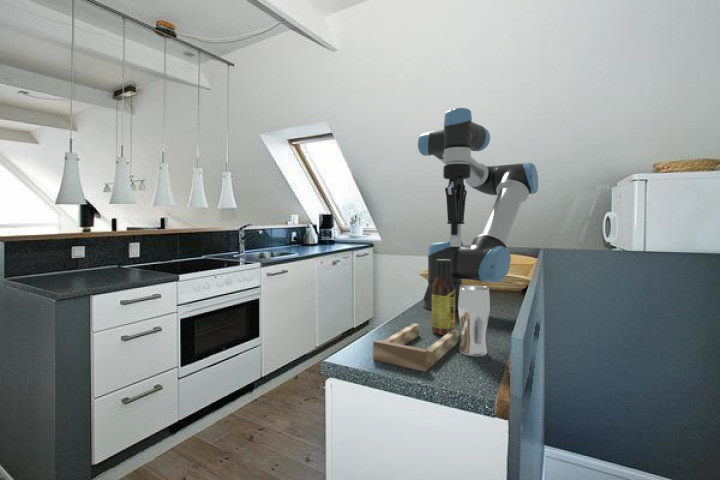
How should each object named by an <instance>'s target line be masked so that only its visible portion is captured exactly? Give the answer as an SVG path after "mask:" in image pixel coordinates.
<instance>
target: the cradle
mask: <svg viewBox="0 0 720 480" xmlns="http://www.w3.org/2000/svg"><path fill="white" fill-rule="evenodd" d="M419 335H420V324H419V323H412V324H411V325H409V326H406V327H404V328H403V329H401V330H400V331H397V332H396V333H394V334H391V335H390V336H388V337H387V338H385V339H383V340H380V339H375V340H374V341H373V342H372V344H373V345H372V346H373V347H372V350H373V351H372V352H373V353H372V356H373V357H372V359H373V361H376V362H377V361H378V362H383V363H386V364H390V365H396V366H399V367H404V368H408V369H412V370H417V371H419V372H420V371H421V372H426V371H428V370H429V369H430V368H431V367H432V366H433V365H434V364H436V363H437V362H438V361H439V360H440V359H441V358H443V356H445V355H446V354H447V353H448V352H449V351H451V349H452V348H454V347H455V346H456V345H457V344H458V343H459V330H457V329H454V330H451V331H450V332H449V333H447V334H446V335H442V337H441V338H439V339H438V340H437V341H435V342H434V343H433V344H431V345H430V346H429V347H427V348H426V349H425V348H421V347H416V346H412V345H406V344H408V343H410V342H412V341H413V340H414V339H416V338H417V337H419Z"/></svg>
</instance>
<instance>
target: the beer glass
mask: <svg viewBox="0 0 720 480" xmlns="http://www.w3.org/2000/svg"><path fill="white" fill-rule="evenodd" d="M490 299H491V298H490V288H489V287H488V286H483V285H477V284H476V285H474V284H473V285H471V284H468V285H467V284H465V285H462V286H460V287H459V297H458V311H457V313H458V320H459V325H460V331H461V332H460V334H461V336H460V338H461V339H460V344H459V349H458V351H459V352H460V353H461V354H462V355H465V356H468V357H475V358H476V357H478V358H479V357H484V356H486V355H487V353H488V351H487V343H486V333H487V329H488V328H487V327H488V324H489V323H488V322H489V319H490V318H489V317H490V312H491V311H490V309H491V306H490V305H491V301H490Z"/></svg>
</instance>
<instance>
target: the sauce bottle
mask: <svg viewBox="0 0 720 480" xmlns="http://www.w3.org/2000/svg"><path fill="white" fill-rule="evenodd" d="M436 266H437V273H436V275H437V277H436V278H435V280H434V282H433V284H432V310H431V332H432V333H434V334H435V335H439V336H445V335H446V334H447V333H449V332H450V331H451V330H455V327H456V311H455V286H454V284H453V281H452V278H451V260H449V259H437V260H436Z"/></svg>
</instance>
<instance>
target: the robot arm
mask: <svg viewBox="0 0 720 480" xmlns="http://www.w3.org/2000/svg"><path fill="white" fill-rule="evenodd" d="M443 119H444V120H443V129H440V130H438V129H437V130H434V131H431V130H430V131H427V132H424V133H422V134H420V135H419V137H418V139H417V140H418V141H417V149H418V152H419V153H420V155H421V156H425V157H426V156H429V157H430V156H434V157H435V158H436V159H438V160H439V161H441V162H442V163H443V164H444V166H443V171H442V172H443V173H442V174H443V175H442V176H443V178H444V180H448V185H447V186H446V187H445V189H444V191H445V196H446V209H447V210H446V211H447V214H446V215H447V222H446V223H447V224H448V225H450V229H449V231H450V232H449V233H450V234H449V235H450V237H449V238H450V239H449V241H443V242H442V241H441V242H433V243H431V244H430V245H429V247H428V255H427V259H428V260H427V263H428V264H427V265H428V266H427V271H428V272H427V275H428V276H427V279H428V281H427V287H426V289H425V293H424V294H423V298H422V306H423V308H425V309H427V310H431V311H432V284H433V282H434V280H435V278H436V277H437V275H436V273H437V266H436V260H437V259H449V260H451V278H452V281H453V284H454V286H455V312H458V297H459V287H460V286H463V280H464V281H465V280H466V281H475V282H481V283H482V282H483V283H485V284H486V283H488V284H489V283H494V284H495V283H500V282H501V281H503V280H504V279H505V278H506V277H507V275H508V273H509V271H510V267H511V265H510V264H511V260H512V256H511V252H510V250H509V249H508V246H507V241H508V238H509V236H510V233H511V231H512V228H513V224H514V223H515V221H516V217H517V215H518V213H519V210H520V207H521V204H522V203H524V202H526V201H527V199H529V196H530V195H534V194H536V193H538V190H539V176H538V170H537V167H536V165H535V164H533V162H522V163H511V164H503V165H501V164H500V165H491V166H490V165H486V164H484V163H480V162H478V161H477V160H476V159H474V158H473V157H472V156H471V155H472V152H481V151H483V150H485V149H487V148H488V146H489V144H490V141H491V135H490V131H489V130H488V129H487V128H485V127H484V126H483V125H480V124H478V123H475V122H474V121H472V119H473V117H472V111H471V110H470V109H469V108H467V107H457V108H456V107H455V108H451V109H448V110H447V111H446V112H445V113H444V118H443ZM464 180H465V182H466V184H467V185H468V186H469V187H471V188H472V189H474V190H476V191H478V192H480V193H483V194H486V195H490V196H497V197H496V198H495V201H494V203H493V206H492V208H491V210H490V212H489V214H488V217H487V220H486V222H485V224H484V225H483V229H482V231H481V233H480V234H479V235H477V236H475V237H474V238H473V240H472V242H471V244H469V245H467V244H464V243H463V241H462V225H464V224H465V209H466V199H467V193H468V191H467V190H466V185H465V184H464V183H465V182H464Z"/></svg>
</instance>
